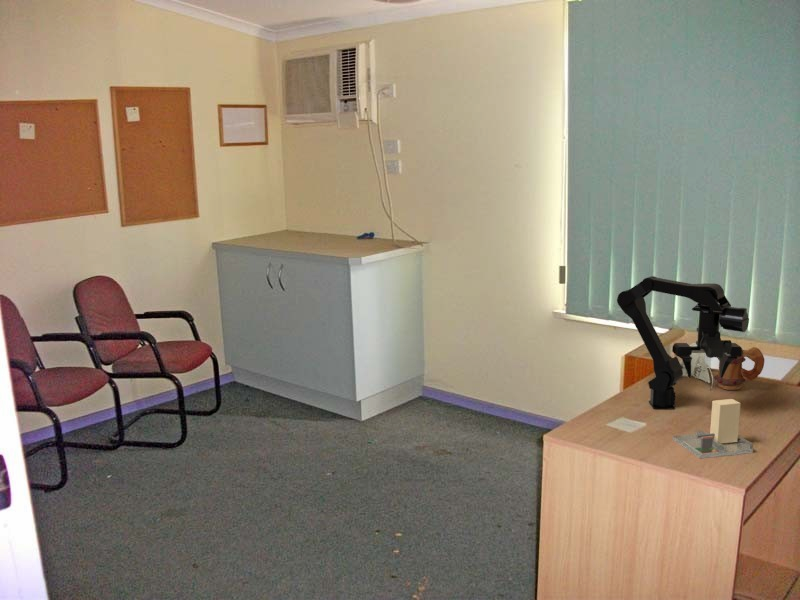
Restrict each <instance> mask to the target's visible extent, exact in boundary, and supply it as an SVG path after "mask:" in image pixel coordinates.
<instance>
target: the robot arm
mask: <svg viewBox="0 0 800 600" xmlns="http://www.w3.org/2000/svg"><path fill="white" fill-rule="evenodd" d="M651 292H656V293H657V292H658V293H661V294H667V295H673V296H679V297H683V298H684V297H685V298H686V299H687V298H688V299H689V300H691V301H693V302H694V303H697V304H696V305H695V306H693V307H692V308H691V310H692V311H693V312H698V326H697V327H696V332H697V338H698V339H696V342H695V343H696V345H697V346H689V345H690V344H689V343H687V342H674V343H673V345H672V348H671V349H672V350H671V351H672V353H673V354H675V356H674V357H672V356H671V355H669V354H668V352H667V350H666V348H665V346H664V345H663V342H662V340H661V338H660V337H659V335H658V332H657V331H656V329H655V327H654V325H653V323H652V322H651V321H652V320H651V319H650V317H649V315H648V314H647V306H646V305H647V304H646V301H645V297H647V296H648V295H649V294H650V293H651ZM616 298H617V299H616V303H617V304H618V306H619V307H620V309H621V310H622V311H623V313H624V314H625V315H626V316H628V318H630V319H631V320H632V322H633V324H634V326H635V328H636V329H637V331H638V333H639V336H640V338H641V339H642V341H643V344H644V345H645V347H646V349H647V351H648V353H649V356H650V357H651V358H652V364H653V372H654V375H655V377H653V378H652V379H651V380H649V381H648V382H647V384H648V388H649V389H650V398H649V400H648V404H649V405H650V406H651V408H653V410H675V409H676V407H675V405H676V392H675V388H674V386H676V384H677V383H678V382H680V380H681V379H682V377H683V376H682V375H683V371H682V368H683V367H682V366H681V365H680V363H679V361H680V359H681V360H683V362H684V365H685V368H686V371H687V373H686V374H688V377H687V378H689V379H690V378H691V377H692V376H691V360H692V357H691V356H690V355H691V354H692V353H706V354H705V356H706V357H707V358H709V359H713V358H717V357H719V358H721V359H720V377H721V378H722V377H723V375H724V373H725V371H726V369H727V367H728V365H729V364H730V362H731V361H733V360H734V359H737V358H738V357H742V356H743V350H744V349H743V347H741V346H740V345H739V344H737V343H736V342H732V341H731V340H729V339H728V340H727V339H723V340H722V338H721V332H720V327H721V328H722V329H723V330H726V331H736V332H740V333H746V331H747V330H748V327H749V322H750V318H749V314H748V311H747V310H748V309H747V307H734V306H732V304H731V303H730V301H729V300H728V298H727V297H726V295H725V290H724V288H723V287H722V286H721V284H719V283H708V282H707V283H706V282H704V283H688V282H683V281H678V280H672V279H666V278H661V277H656V276H654V275H651V276H648V277H645V278H644V279H642V281H640V282H638V284H636V285H634V286H633V287H631V288H629V289H626V290H623V291H621V292H620V293H618V295H617V297H616ZM678 357H679V358H678ZM691 379H692V378H691Z"/></svg>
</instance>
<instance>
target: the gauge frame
mask: <svg viewBox="0 0 800 600" xmlns="http://www.w3.org/2000/svg"><path fill="white" fill-rule="evenodd" d="M701 434H710V432H704V431H702V430H701V429H697V431H696V433H690V434H681V435H673V436H672V440H673V441H675V442H676V443H677V444H678V445H680V446H682V447H683V448H685V450H687V451H689V452H690V453H692V454H693V455H694V456H695V457H697V458H699V459H705V458H707V459H708V458H715V457H716V458H717V457H725V456H734V455H735V456H736V455H744V454H752V453H754V448H753V447H754V443H753V442H751V441H749V440H747V439H745V438H744V437H742V436H740V435H739V434H738V440H737V442H730V443H720V442H718V441H717V440H715V439H713V444H712V448H707V449H701V438H697V435H701Z"/></svg>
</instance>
